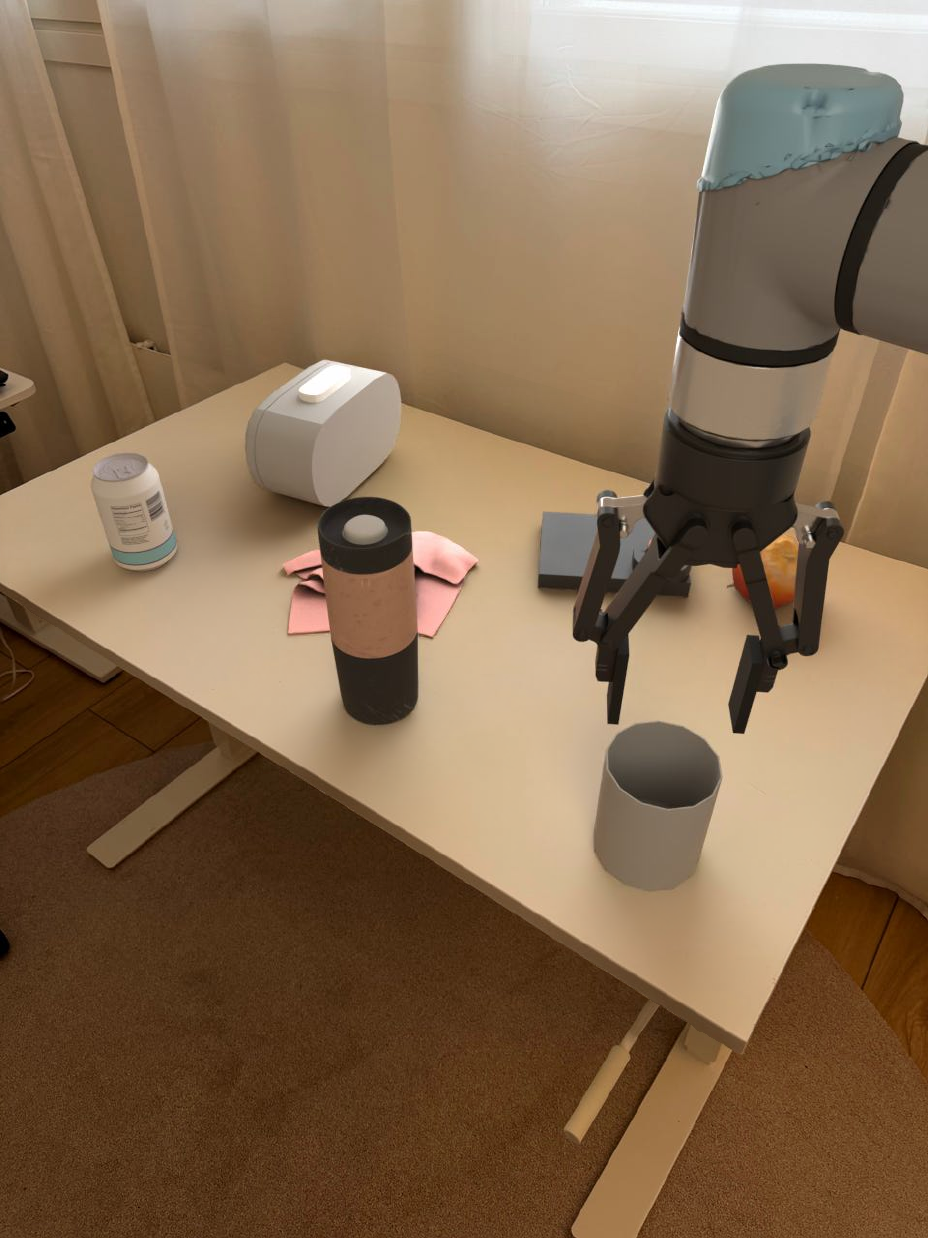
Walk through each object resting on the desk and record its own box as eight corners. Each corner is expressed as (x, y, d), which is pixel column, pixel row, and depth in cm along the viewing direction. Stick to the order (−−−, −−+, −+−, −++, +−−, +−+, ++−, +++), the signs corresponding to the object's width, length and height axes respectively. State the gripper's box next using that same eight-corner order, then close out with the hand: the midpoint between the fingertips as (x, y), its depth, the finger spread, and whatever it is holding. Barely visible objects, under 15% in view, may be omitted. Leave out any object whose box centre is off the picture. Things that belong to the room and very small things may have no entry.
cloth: (500, 555, 101) (500, 538, 99) (400, 676, 86) (399, 658, 84) (348, 509, 108) (346, 492, 106) (232, 613, 93) (228, 595, 92)
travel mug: (323, 696, 84) (296, 519, 71) (387, 658, 88) (372, 484, 75) (373, 741, 80) (354, 562, 67) (437, 699, 84) (432, 523, 71)
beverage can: (165, 533, 104) (140, 442, 97) (189, 562, 100) (165, 469, 92) (107, 554, 101) (76, 462, 93) (129, 585, 97) (99, 491, 89)
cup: (576, 819, 73) (586, 737, 67) (663, 790, 75) (682, 708, 69) (625, 905, 67) (642, 825, 61) (719, 871, 69) (745, 790, 63)
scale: (679, 532, 104) (684, 507, 102) (689, 600, 95) (694, 574, 92) (542, 524, 105) (543, 499, 103) (537, 591, 96) (539, 565, 94)
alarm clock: (343, 433, 122) (333, 338, 113) (403, 448, 119) (398, 352, 110) (253, 508, 108) (233, 407, 99) (319, 528, 105) (305, 425, 96)
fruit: (744, 545, 99) (790, 509, 93) (787, 603, 98) (837, 571, 91) (697, 573, 96) (742, 539, 89) (742, 634, 94) (790, 604, 87)
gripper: (922, 389, 49) (816, 686, 63) (544, 373, 50) (527, 666, 65) (966, 460, 43) (839, 768, 58) (538, 440, 45) (521, 744, 60)
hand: (674, 714), depth 61 cm, fingers open, 8 cm apart
